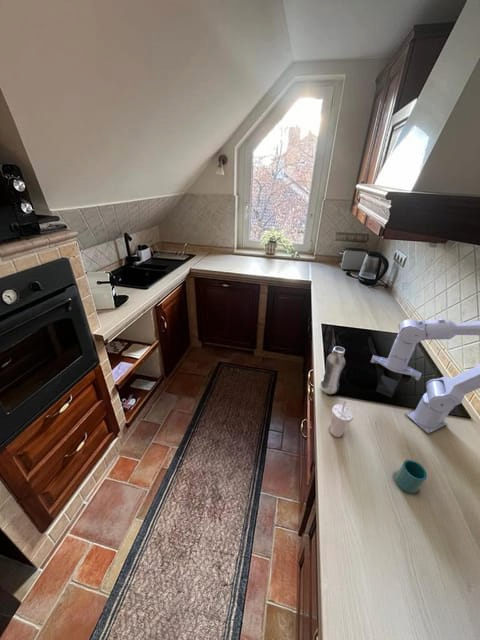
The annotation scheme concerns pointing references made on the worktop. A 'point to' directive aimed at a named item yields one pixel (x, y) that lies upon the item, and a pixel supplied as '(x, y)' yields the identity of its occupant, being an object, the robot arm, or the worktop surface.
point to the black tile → (386, 386)
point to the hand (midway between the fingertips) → (387, 385)
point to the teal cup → (410, 476)
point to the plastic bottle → (333, 371)
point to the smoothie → (340, 419)
